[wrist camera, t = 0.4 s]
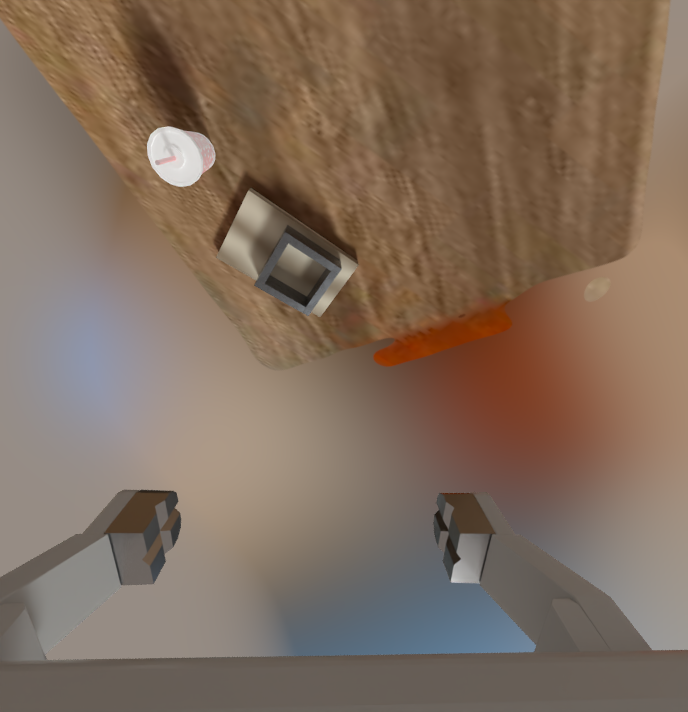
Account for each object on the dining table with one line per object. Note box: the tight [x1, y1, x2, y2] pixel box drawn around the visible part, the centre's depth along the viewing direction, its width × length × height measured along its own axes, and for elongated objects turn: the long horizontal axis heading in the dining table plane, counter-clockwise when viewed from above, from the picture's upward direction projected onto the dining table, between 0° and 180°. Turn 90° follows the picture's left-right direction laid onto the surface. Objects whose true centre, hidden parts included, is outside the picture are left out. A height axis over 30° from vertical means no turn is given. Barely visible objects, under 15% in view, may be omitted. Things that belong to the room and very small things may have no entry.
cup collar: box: [254, 225, 342, 316], centre depth 53 cm, size 10×10×4 cm
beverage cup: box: [147, 126, 215, 187], centre depth 40 cm, size 6×6×14 cm
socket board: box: [216, 188, 358, 317], centre depth 54 cm, size 12×20×2 cm, turn 55°
